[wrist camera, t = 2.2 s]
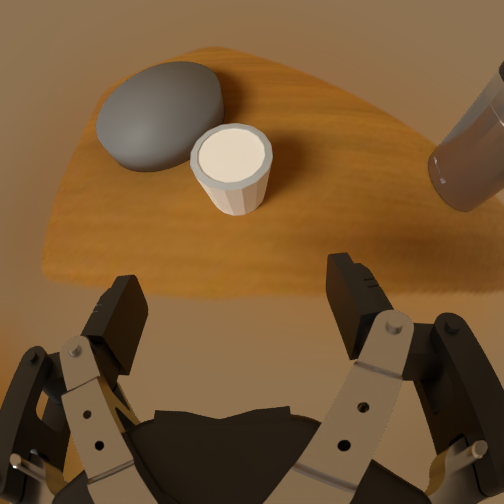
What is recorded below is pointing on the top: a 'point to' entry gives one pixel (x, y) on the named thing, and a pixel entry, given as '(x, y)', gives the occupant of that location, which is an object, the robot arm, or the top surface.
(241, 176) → the white cup
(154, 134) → the stand
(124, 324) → the robot arm
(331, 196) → the top surface
